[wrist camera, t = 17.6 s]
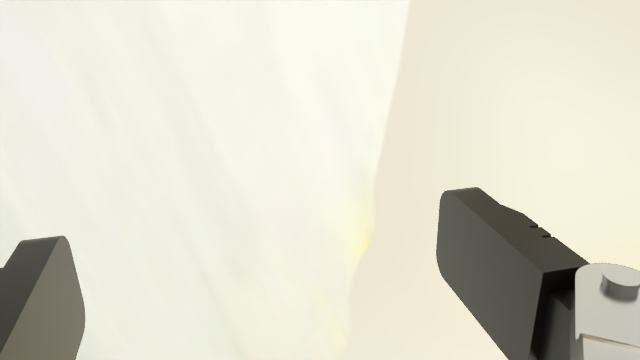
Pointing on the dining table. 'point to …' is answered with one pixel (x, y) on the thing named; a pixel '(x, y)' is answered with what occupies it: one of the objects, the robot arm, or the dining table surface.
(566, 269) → the robot arm
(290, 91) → the dining table surface
